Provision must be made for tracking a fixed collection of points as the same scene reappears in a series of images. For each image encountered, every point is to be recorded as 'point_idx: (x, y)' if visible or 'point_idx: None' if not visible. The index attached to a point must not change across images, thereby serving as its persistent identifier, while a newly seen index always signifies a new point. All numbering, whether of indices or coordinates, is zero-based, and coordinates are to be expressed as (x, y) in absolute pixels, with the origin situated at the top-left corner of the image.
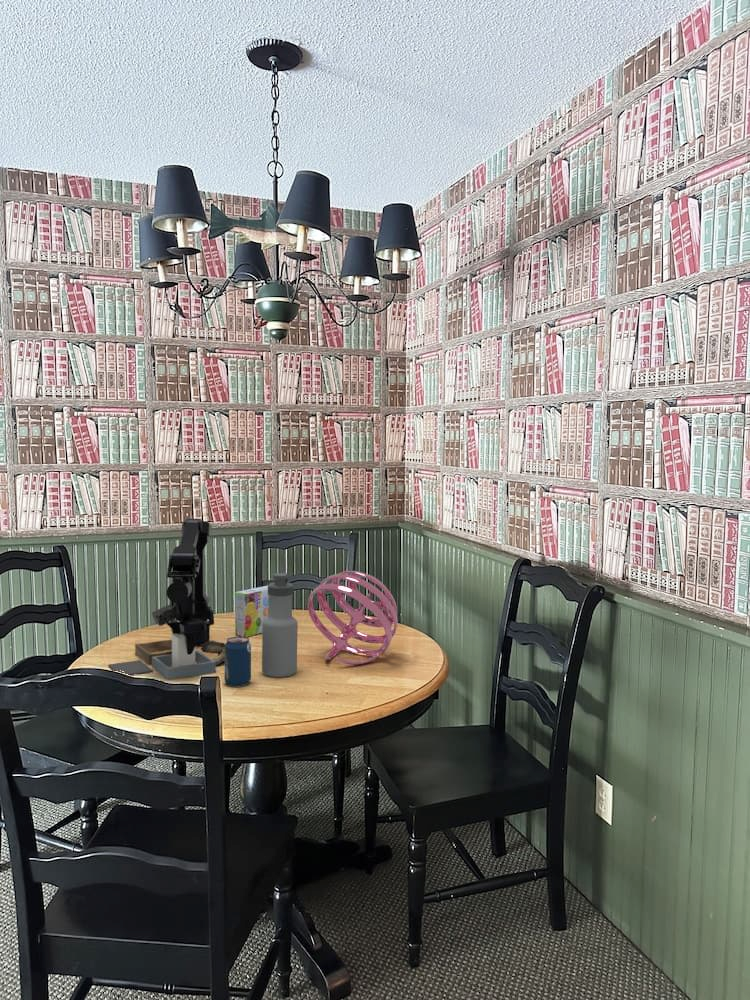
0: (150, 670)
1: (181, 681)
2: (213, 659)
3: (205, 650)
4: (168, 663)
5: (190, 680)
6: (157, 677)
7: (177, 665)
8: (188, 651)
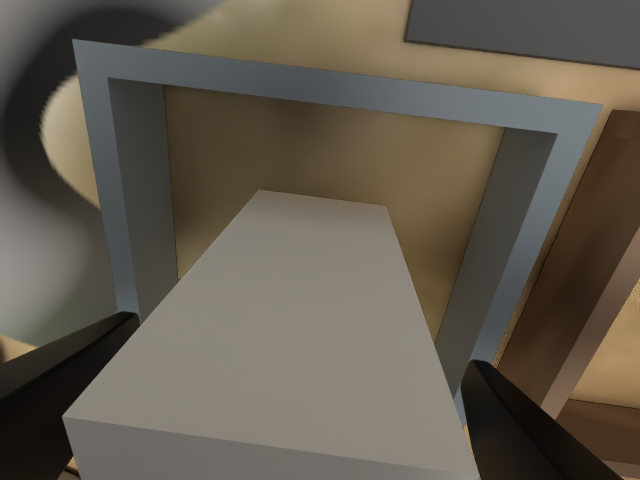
0: (422, 17)
1: (69, 123)
2: None
3: None
4: (480, 229)
5: (71, 183)
6: (247, 7)
7: (254, 208)
8: (87, 332)
